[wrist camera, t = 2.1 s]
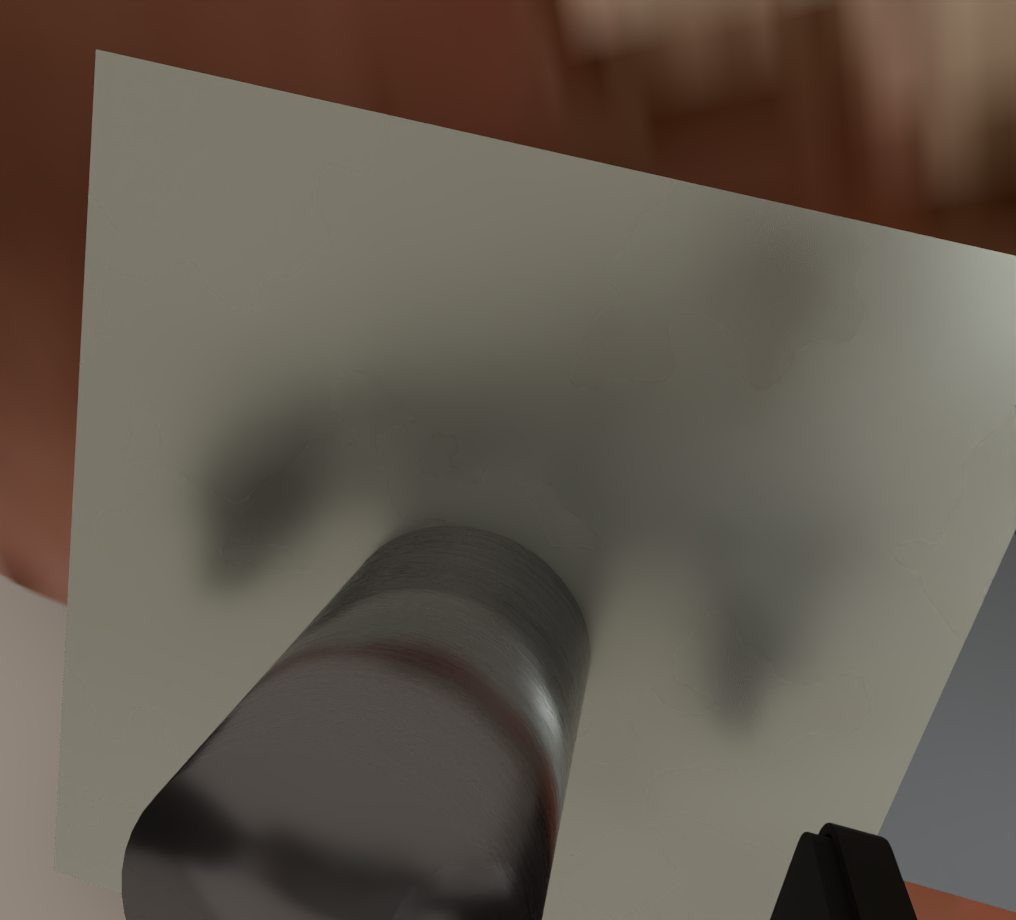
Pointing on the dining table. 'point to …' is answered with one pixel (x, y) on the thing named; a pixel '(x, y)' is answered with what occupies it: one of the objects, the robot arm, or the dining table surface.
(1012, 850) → the mat
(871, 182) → the dining table surface
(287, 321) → the beige box
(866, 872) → the robot arm
